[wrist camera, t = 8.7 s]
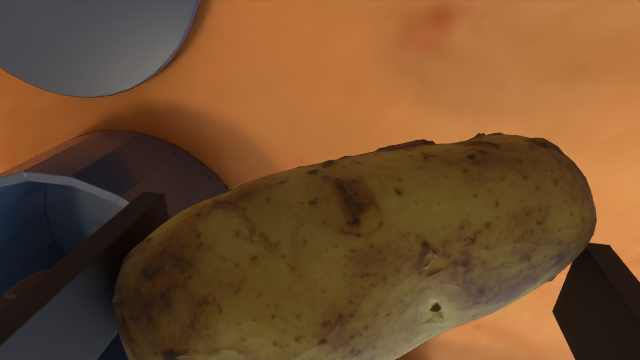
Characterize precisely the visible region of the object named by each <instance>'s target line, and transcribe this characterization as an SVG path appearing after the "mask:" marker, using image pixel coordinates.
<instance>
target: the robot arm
mask: <svg viewBox="0 0 640 360" xmlns="http://www.w3.org/2000/svg"><path fill="white" fill-rule="evenodd" d="M168 220H169V215H168V209H167V204H166V198H165V194H164V193H155V192H147V191H143V192H142V193H141V194H140V195H139V196H137V197H136V198H135V199H134V200H133V201H131V202H130V203H129V204H128V205H127V206H125V207H124V208H123V209H122V210H121V211H119V212H118V213H117V214H116V215H115V216H113V217H112V218H111V219H110V220H109V221H107V222H106V223H105V224H104V225H102V226H101V227H100V228H99V229H98V230H96V231H95V232H94V233H93V234H92V235H90V236H89V237H88V238H87V239H86V240H84V241H83V242H82V243H81V244H80V245H78V246H77V247H76V248H75V249H74V250H72V251H71V252H70V253H69V254H68V255H66V256H65V257H64V258H63V259H62V260H60V261H59V262H58V263H57V264H56V265H54V266H53V267H52V268H51V269H42V270H40V271H38V272H36V273H34V274H32V275H30V276H28V277H26V278H24V279H23V280H21V281H20V282H18V283H17V284H16V285H15V286H13V287H12V288H11V289H10V290H8V291H7V292H6V293H5V294H3V295H4V296H3V297H2V298H1V297H0V360H97V358H98V357H99V356H100V355H101V353H102V352H103V351H104V350H105V348H106V347H107V346H108V344H109V343H110V342H111V341H112V339H113V338H114V337H115V336H116V334H117V333H118V332H119V331H118V326H117V320H116V315H115V309H114V304H113V302H112V299H113V297H114V289H115V283H116V281H117V278H118V275H119V272H120V269H121V266H122V262H123V260H124V258H125V257H126V256H127V255H128V254H129V253H130V252H131V251H132V249H133V248H134V247H136V246H137V245H138V244H139V243H140V242H142V241H143V240H144V239H145V238H146V237H147V236H148V235H150V234H151V233H152V232H153V231H155V230H156V229H157V228H158V227H160V226H161V225H162V224H164V223H165V222H167V221H168ZM552 312H553V314H554V316H555V318H556V320H557V322H558V324H559V327H560V329H561V331H562V333H563V335H564V337H565V339H566V341H567V343H568V345H569V347H570V350H571V352H572V354H573V356H574V358H575V360H640V282H639V281H638V280H637V278H636V277H635V276H634V275H633V274H632V272H631V271H630V270H629V269H628V267H627V266H626V265H625V264H624V263H623V261H622V260H621V259H620V258H619V256H618V255H617V254H616V253H615V252H614V250H613V249H612V248H611V247H610V245H604V244H596V243H588V245H587V247H586V248H585V249H584V250H583V251H582V252H581V253H580V254H579V256H578V257H577V258H576V259H575V260H573V262H572V264H571V267H570V269H569V272H568V274H567V277H566V279H565V282H564V284H563V286H562V289H561V291H560V294H559V296H558V299H557V301H556V304H555V306H554V309H553V311H552Z"/></svg>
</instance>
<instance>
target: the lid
mask: <svg viewBox="0 0 640 360" xmlns="http://www.w3.org/2000/svg"><path fill="white" fill-rule="evenodd" d="M199 4H200V0H0V68H1V69H3V70H4V71H6V72H7V73H9V74H11V75H13V76H15V77H17V78H18V79H20V80H22V81H24V82H26V83H28V84H31V85H33V86H36V87H38V88H41V89H43V90H47V91H50V92H54V93H57V94H61V95H67V96H74V97H102V96H109V95H114V94H117V93H121V92H124V91H127V90H130V89H132V88H134V87H136V86H138V85H140V84H142V83H144V82H146V81H148V80H149V79H150V78H152V77H153V76H154V75H156V74H157V73H158V72H160V71H161V70H162V69H163V68H164V67H165V66H166V65H167V64H168V63H169V62H170V61H171V60H172V59H173V57H174V56H175V54H176V53H177V52H178V50H179V49H180V47H181V46H182V44H183V43H184V41H185V39H186V37H187V35H188V33H189V31H190V29H191V27H192V25H193V22H194V19H195V16H196V13H197V10H198V7H199Z"/></svg>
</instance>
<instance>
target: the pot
mask: <svg viewBox="0 0 640 360" xmlns="http://www.w3.org/2000/svg"><path fill="white" fill-rule="evenodd" d="M143 191H147V192H155V193H164V194H165V198H166V204H167V209H168V215H169V219H171V218H172V217H173V216H175V215H177V214H178V213H180V212H182V211H183V210H185V209H187V208H189V207H191V206H193V205H195V204H198V203H200V202H202V201H205V200H207V199H210V198H212V197H215V196H218V195H221V194H223V193H226V192H229V191H230V190H229V189H228V187H227V186H226V185H225V184H224V183H223V182H222V181H221V180H220V179H219V178H218V176H217V175H216V174H215V173H213V172H212V171H211V170H210V169H209V168H208V167H207V166H205V165H204V164H203V163H202V162H200V161H199V160H197V159H196V158H195V157H193V156H192V155H190V154H189V153H187V152H185V151H184V150H182V149H180V148H178V147H176V146H174V145H173V144H170V143H168V142H165V141H163V140H161V139H158V138H155V137H152V136H148V135H145V134H141V133H136V132H129V131H114V130H109V131H100V132H94V133H90V134H87V135H83V136H81V137H77V138H73V139H70V140H68V141H66V142H64V143H62V144H60V145H58V146H56V147H54V148H52V149H50V150H48V151H46V152H44V153H42V154H40V155H38V156H35V157H33V158H31V159H29V160H27V161H25V162H23V163H21V164H19V165H17V166H15V167H13V168H11V169H9V170H7V171H5V172H3V173H0V297H1V298H2V297H3V296H4V295H3V294H5V293H6V292H7V291H8V290H10V289H11V288H12V287H13V286H15V285H16V284H17V283H18V282H20V281H21V280H23V279H24V278H26V277H28V276H30V275H32V274H34V273H36V272H38V271H40V270H42V269H51V268H52V267H53V266H54V265H56V264H57V263H58V262H59V261H60V260H62V259H63V258H64V257H65V256H66V255H68V254H69V253H70V252H71V251H72V250H74V249H75V248H76V247H77V246H78V245H80V244H81V243H82V242H83V241H84V240H86V239H87V238H88V237H89V236H90V235H92V234H93V233H94V232H95V231H96V230H98V229H99V228H100V227H101V226H102V225H104V224H105V223H106V222H107V221H109V220H110V219H111V218H112V217H113V216H115V215H116V214H117V213H118V212H119V211H121V210H122V209H123V208H124V207H125V206H127V205H128V204H129V203H130V202H131V201H133V200H134V199H135V198H136V197H137V196H139V195H140V194H141V193H142V192H143ZM97 360H129V359H128V357H127V354H126V352H125V349H124V346H123V344H122V341H121V338H120V336H119V332H118V333H117V334H116V336H115V337H114V338H113V339H112V341H111V342H110V343H109V344H108V346H107V347H106V348H105V350H104V351H103V352H102V353H101V355H100V356H99V357H98V358H97Z"/></svg>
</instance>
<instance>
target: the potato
mask: <svg viewBox="0 0 640 360" xmlns="http://www.w3.org/2000/svg"><path fill="white" fill-rule="evenodd" d="M596 222H597V218H596V210H595V206H594V202H593V198H592V193H591V190H590V187H589V185H588V182H587V179H586V177H585V176H584V175H583V173H582V172H581V171H580V169H579V168H578V167H577V165H576V164H575V163H574V162H573V161H572V160H571V159H570V158H569V157H568V156H566V155H565V154H564V153H563V152H562V151H561V149H560V148H559V147H558V146H556V145H555V144H553V143H551V142H549V141H548V140H546V139H544V138H528V137H523V136H518V135H506V134H502V133H493V134H488V135H485V134H484V133H482V134H480V133H479V134H477V135H476V136H475V137H473V138H471V139H469V140H467V141H461V142H458V143H450V144H435V143H434V142H433V141H426V140H424V139H423V140H415V141H411V142H407V143H403V144H398V145H391V146H387V147H384V148H379V149H378V150H376V151H374V152H369V153H365V154H360V155H356V156H344V157H342V158H339V159H337V160H329V161H325V162H323V163H318V164H313V165H309V166H302V167H297V168H294V169H290V170H286V171H283V172H279V173H275V174H272V175H268V176H265V177H262V178H259V179H255V180H253V181H250V182H248V183H245V184H243V185H241V186H239V187H238V188H236V189H234V190H231V191H229V192H226V193H223V194H221V195H218V196H215V197H212V198H210V199H207V200H205V201H202V202H200V203H198V204H195V205H193V206H191V207H189V208H187V209H185V210H183V211H182V212H180V213H178V214H177V215H175V216H173V217H172V218H171V219H169V220H168V221H167V222H165V223H164V224H162V225H161V226H160V227H158V228H157V229H156V230H155V231H153V232H152V233H151V234H150V235H148V236H147V237H146V238H145V239H144V240H143V241H142V242H140V243H139V244H138V245H137V246H136V247H134V248H133V249H132V251H131V252H130V253H129V254H128V255H127V256H126V257H125V258H124V260H123V262H122V266H121V269H120V272H119V275H118V278H117V281H116V283H115V289H114V297H113V299H112V302H113V304H114V309H115V315H116V320H117V326H118V331H119V336H120V338H121V341H122V344H123V346H124V349H125V352H126V354H127V357H128V359H129V360H395V359H397V358H399V357H401V356H403V355H404V354H406V353H408V352H409V351H411V350H412V349H414V348H416V347H417V346H419V345H421V344H422V343H424V342H425V341H427V340H429V339H431V338H433V337H435V336H437V335H439V334H441V333H443V332H445V331H447V330H450V329H452V328H455V327H457V326H460V325H462V324H465V323H468V322H471V321H473V320H476V319H479V318H482V317H484V316H487V315H489V314H492V313H494V312H496V311H497V310H499V309H501V308H503V307H505V306H507V305H509V304H511V303H513V302H514V301H516V300H518V299H520V298H521V297H523V296H525V295H526V294H528V293H530V292H531V291H533V290H535V289H536V288H538V287H540V286H541V285H543V284H544V283H546V282H548V281H552V280H553V279H554V278H555V277H556V276H557V275H558V274H559V273H560V272H561V271H562V270H564V269H565V268H566V267H567V266H568V265H569V264H570V263H571V262H572V261H573V260H575V259H576V258H577V257H578V256H579V254H580V253H581V252H582V251H583V250H584V249H585V248H586V247H587V245H588V243H589V242H590V240H591V238H592V236H593V234H594V230H595V226H596Z"/></svg>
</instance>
